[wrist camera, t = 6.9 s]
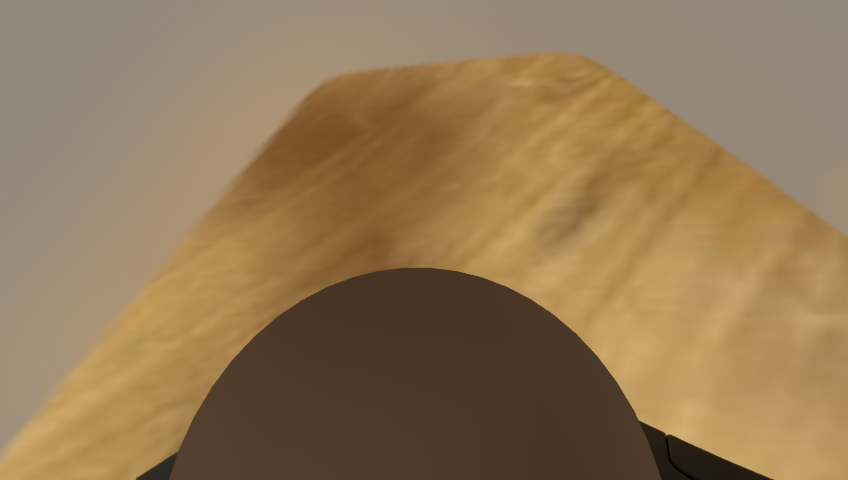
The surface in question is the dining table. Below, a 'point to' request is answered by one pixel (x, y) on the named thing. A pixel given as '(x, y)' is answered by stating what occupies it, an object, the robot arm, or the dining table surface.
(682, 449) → the robot arm
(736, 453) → the dining table surface
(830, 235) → the dining table surface
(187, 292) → the dining table surface
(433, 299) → the peg
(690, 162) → the dining table surface
